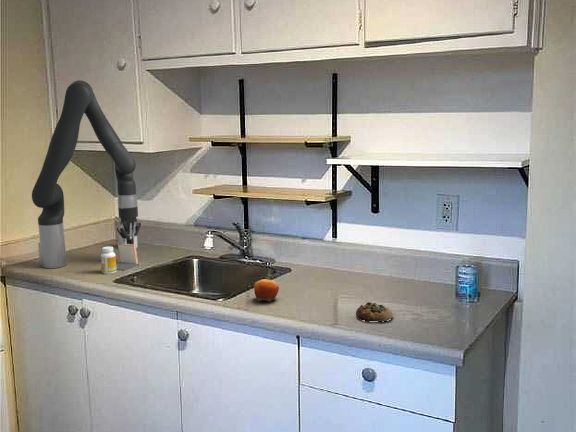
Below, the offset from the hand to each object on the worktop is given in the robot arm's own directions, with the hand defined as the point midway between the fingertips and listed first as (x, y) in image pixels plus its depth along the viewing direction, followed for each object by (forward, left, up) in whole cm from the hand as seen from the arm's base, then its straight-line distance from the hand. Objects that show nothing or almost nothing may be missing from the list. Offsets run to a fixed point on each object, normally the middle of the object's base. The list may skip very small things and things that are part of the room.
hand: (130, 247), depth 253 cm
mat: (0, -7, -6) cm, 9 cm away
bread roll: (+110, -26, -6) cm, 114 cm away
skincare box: (-18, +20, -6) cm, 28 cm away
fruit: (+73, -24, -6) cm, 77 cm away
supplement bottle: (+2, -16, -6) cm, 17 cm away
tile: (0, -2, -6) cm, 6 cm away
